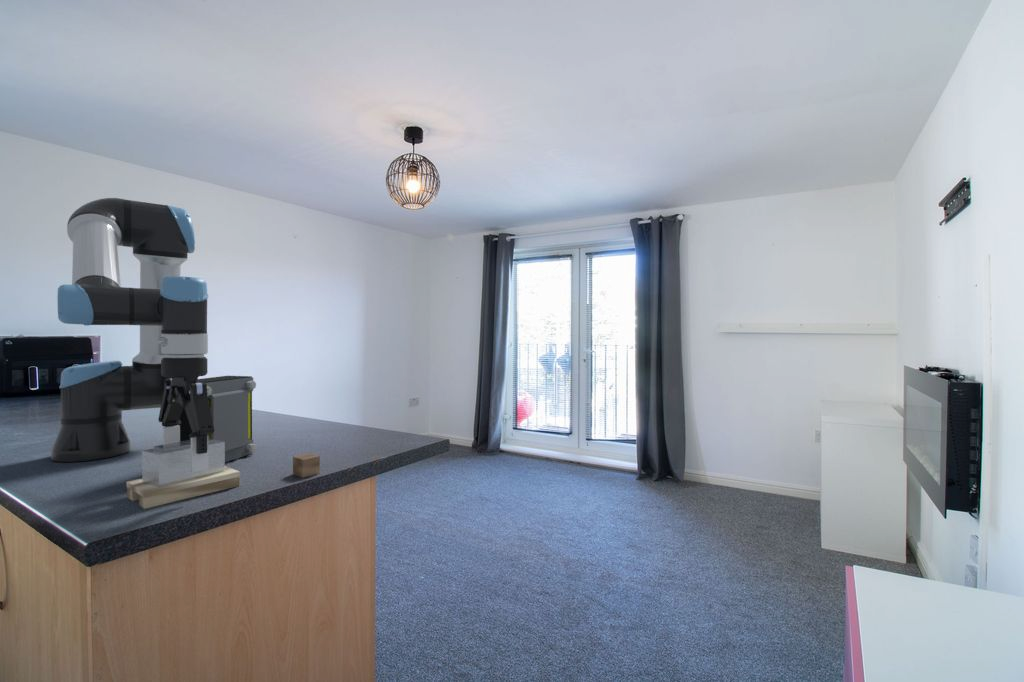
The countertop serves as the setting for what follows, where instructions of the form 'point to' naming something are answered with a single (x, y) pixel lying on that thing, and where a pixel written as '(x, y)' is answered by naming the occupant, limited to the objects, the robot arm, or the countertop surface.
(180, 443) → the block
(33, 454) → the countertop surface
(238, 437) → the electrical component
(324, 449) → the countertop surface
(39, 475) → the countertop surface
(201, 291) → the robot arm
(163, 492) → the stand
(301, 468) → the walnut block
